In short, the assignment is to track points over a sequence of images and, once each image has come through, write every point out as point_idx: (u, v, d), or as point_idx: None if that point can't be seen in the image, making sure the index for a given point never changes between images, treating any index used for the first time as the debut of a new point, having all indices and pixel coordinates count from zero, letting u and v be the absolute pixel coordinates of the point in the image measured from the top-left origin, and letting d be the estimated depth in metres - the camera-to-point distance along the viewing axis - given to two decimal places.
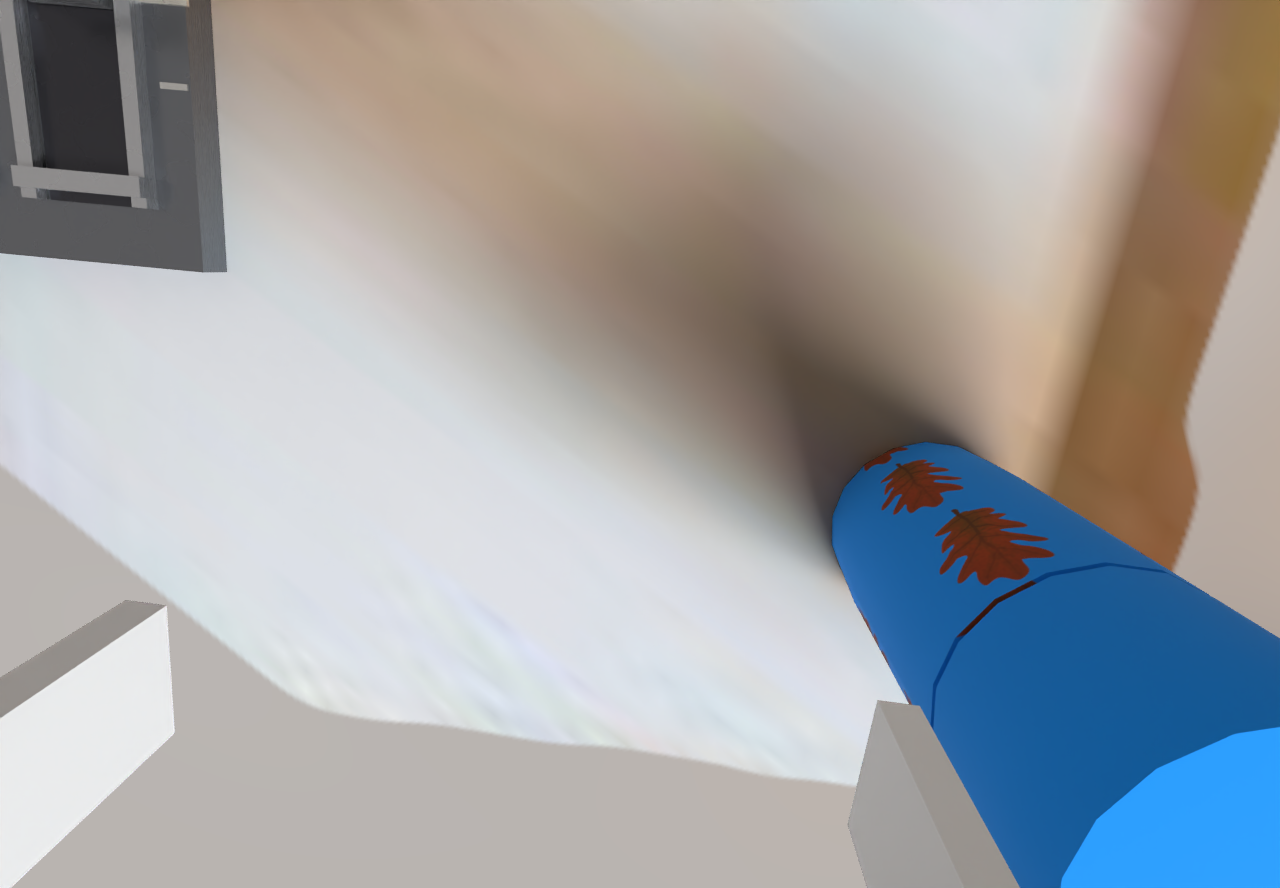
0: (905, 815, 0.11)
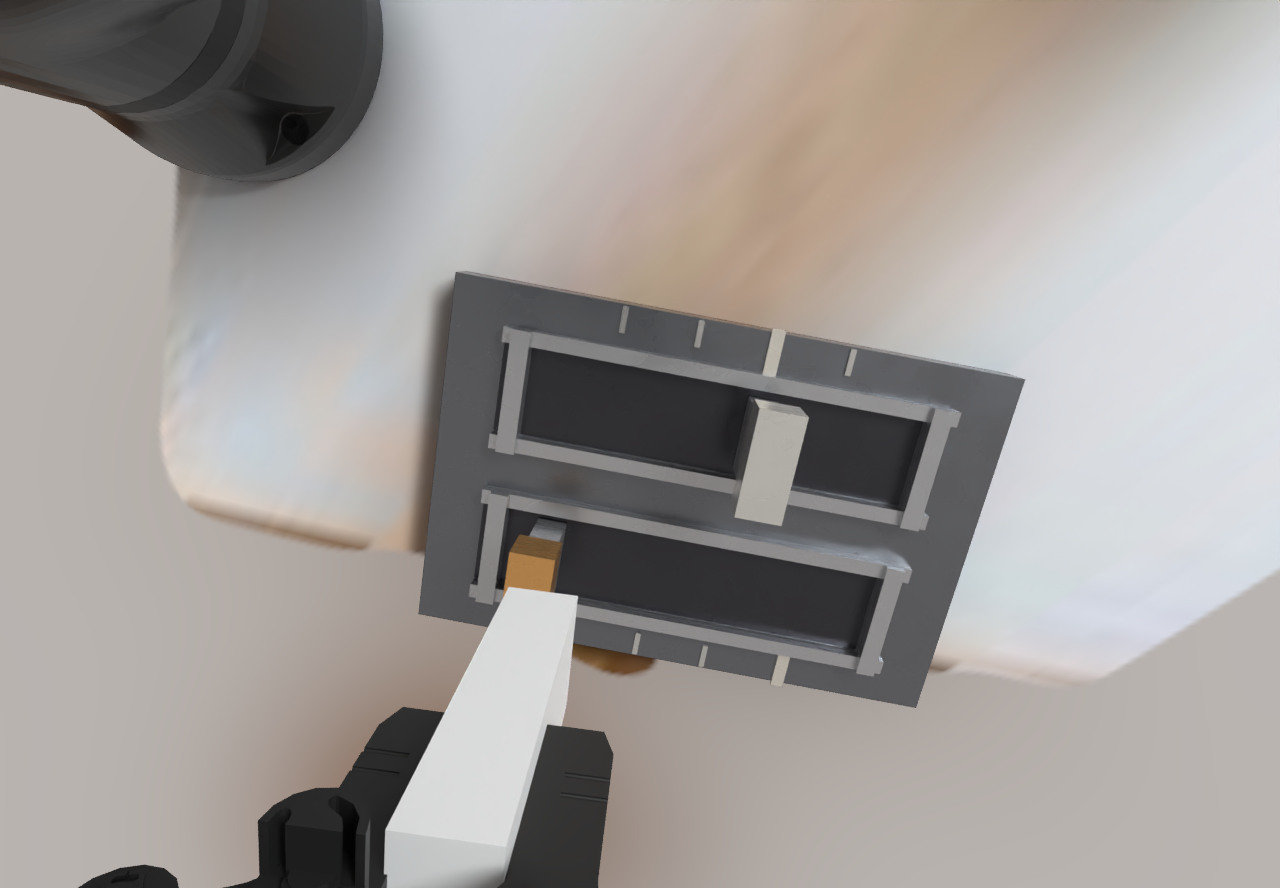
0: None
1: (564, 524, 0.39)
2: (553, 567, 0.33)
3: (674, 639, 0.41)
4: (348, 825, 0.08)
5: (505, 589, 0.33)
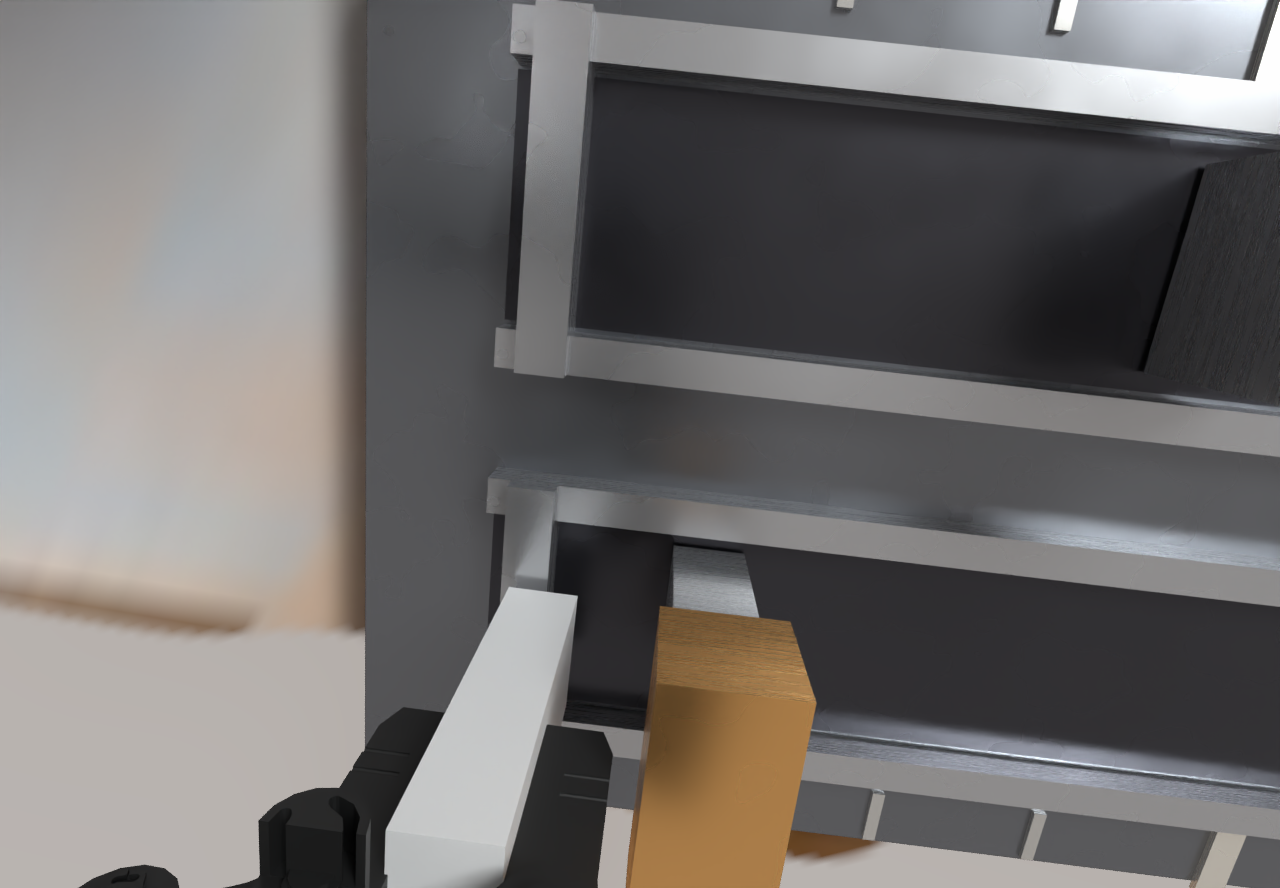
0: None
1: (741, 557, 0.15)
2: (807, 723, 0.10)
3: (963, 803, 0.17)
4: (349, 825, 0.08)
5: (645, 801, 0.10)
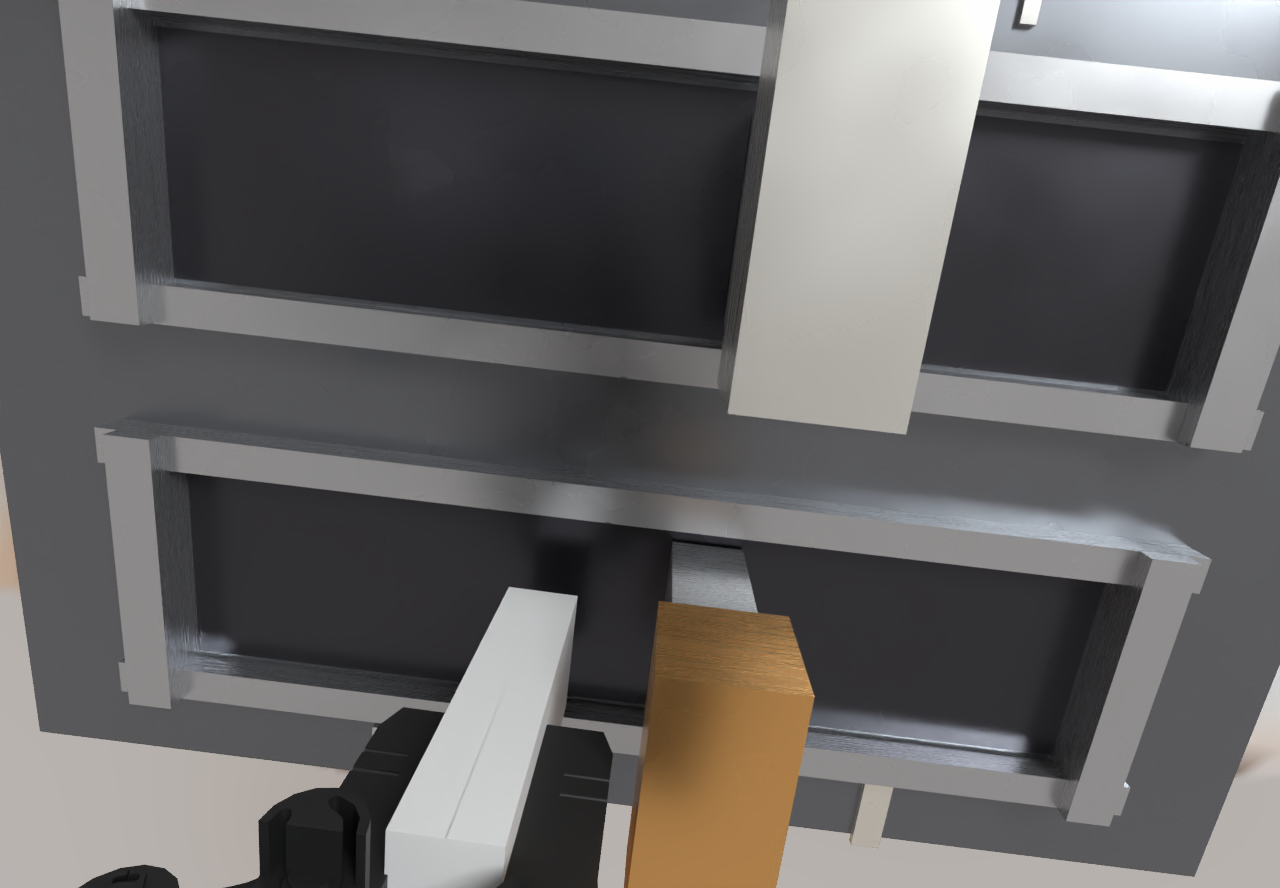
0: None
1: (739, 553, 0.15)
2: (805, 717, 0.10)
3: (620, 756, 0.17)
4: (348, 825, 0.08)
5: (644, 794, 0.10)
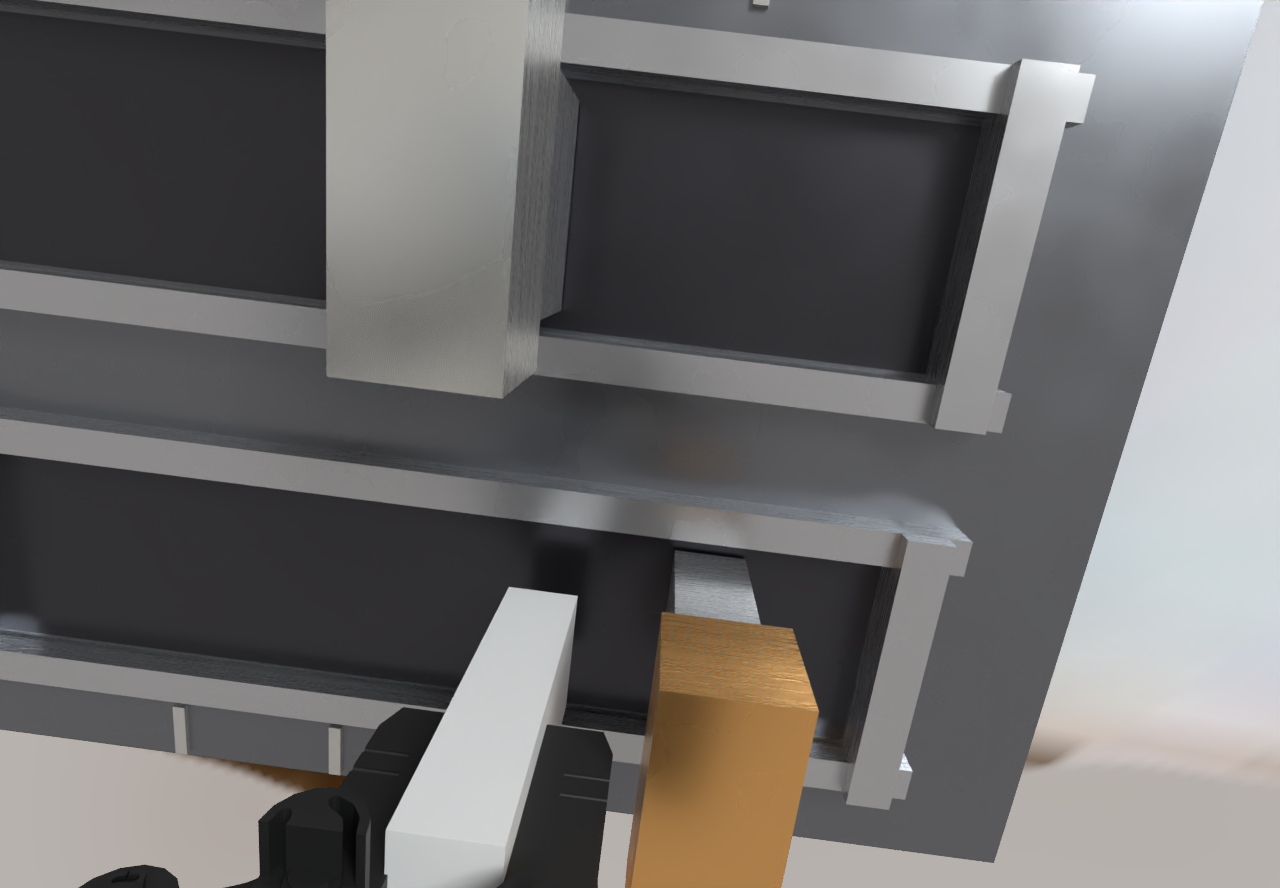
0: None
1: (742, 562, 0.15)
2: (809, 731, 0.10)
3: None
4: (349, 825, 0.08)
5: (647, 807, 0.10)
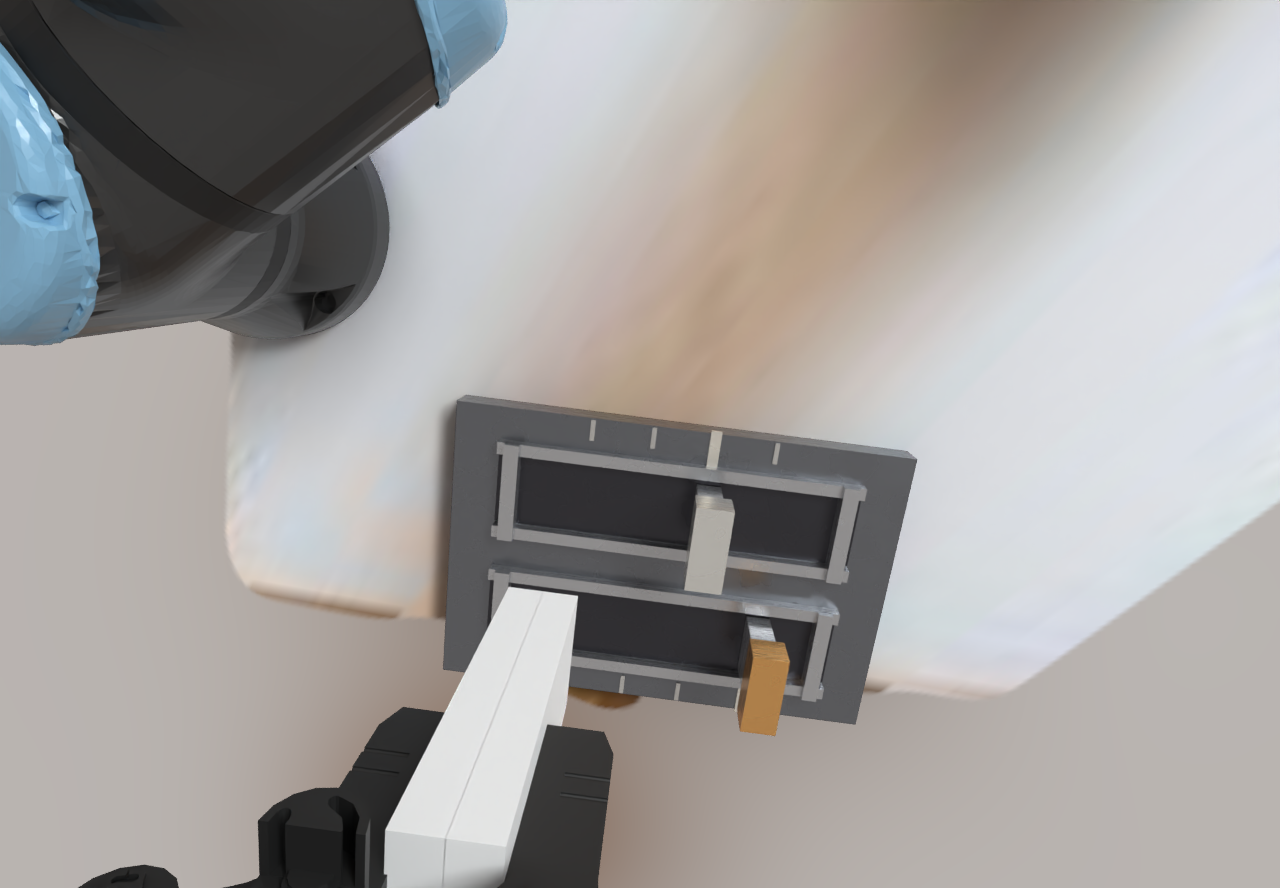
0: None
1: (768, 620, 0.48)
2: (788, 667, 0.42)
3: (652, 679, 0.50)
4: (348, 825, 0.08)
5: (749, 686, 0.42)
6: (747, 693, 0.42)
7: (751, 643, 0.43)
